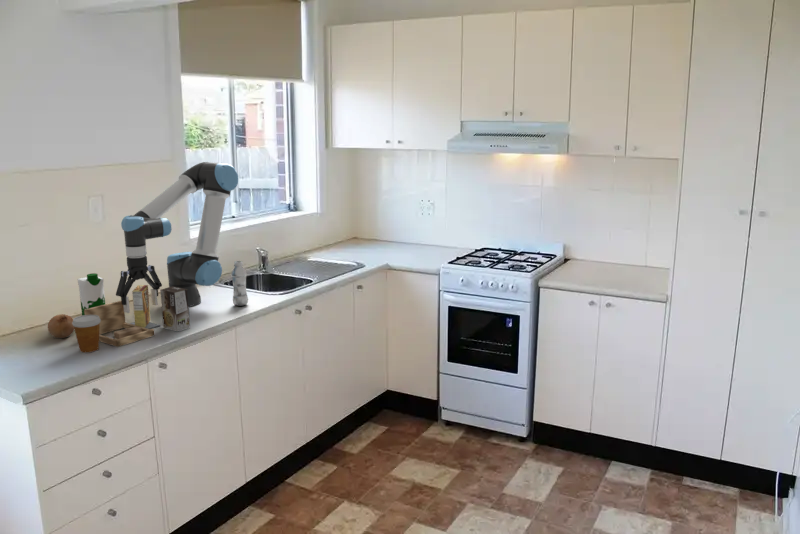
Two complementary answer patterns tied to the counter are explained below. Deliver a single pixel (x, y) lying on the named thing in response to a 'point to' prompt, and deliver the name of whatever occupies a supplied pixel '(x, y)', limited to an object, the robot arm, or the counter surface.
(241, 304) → the plastic bottle
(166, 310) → the coffee box
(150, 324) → the mat
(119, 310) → the rack
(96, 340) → the disposable coffee cup
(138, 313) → the candy box
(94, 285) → the milk carton
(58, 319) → the onion
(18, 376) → the counter surface
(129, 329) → the offcut upper
